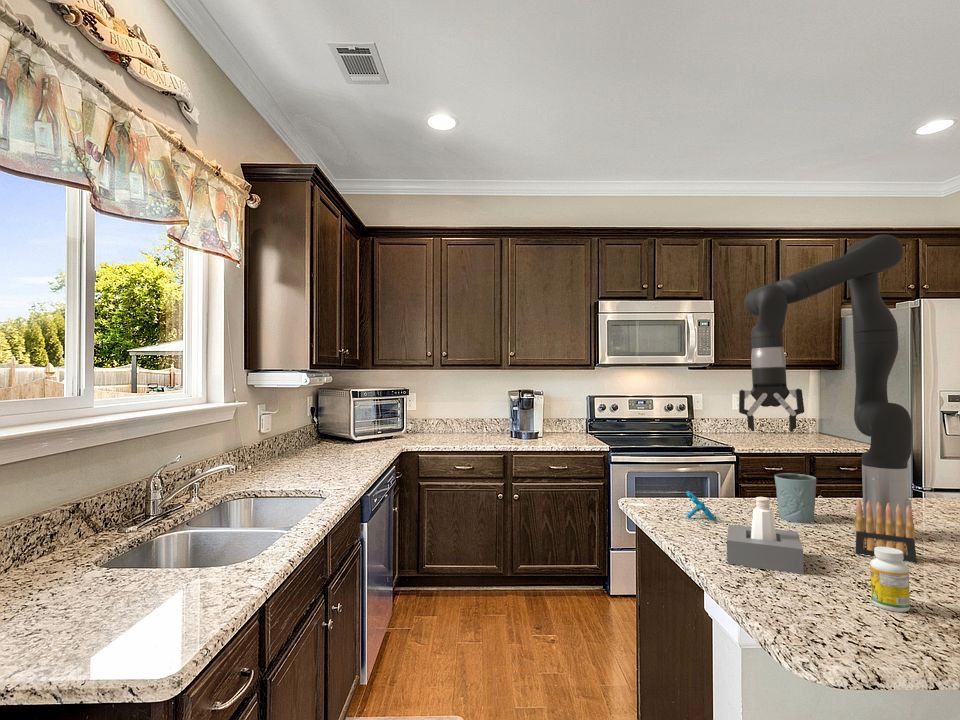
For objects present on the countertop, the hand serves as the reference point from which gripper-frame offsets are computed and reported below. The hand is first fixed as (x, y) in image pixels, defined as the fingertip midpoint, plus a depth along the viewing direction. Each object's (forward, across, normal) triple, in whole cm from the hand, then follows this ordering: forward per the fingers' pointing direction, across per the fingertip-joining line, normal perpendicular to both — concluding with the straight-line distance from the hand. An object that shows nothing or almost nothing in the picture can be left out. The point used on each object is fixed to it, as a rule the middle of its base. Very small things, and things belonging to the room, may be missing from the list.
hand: (771, 431), depth 134 cm
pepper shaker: (+24, +4, +19) cm, 31 cm away
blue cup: (+27, -6, -22) cm, 35 cm away
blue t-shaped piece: (+26, +18, -13) cm, 34 cm away
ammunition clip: (+27, -20, +6) cm, 34 cm away
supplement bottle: (+27, -15, +37) cm, 48 cm away
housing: (+26, +4, +19) cm, 32 cm away
